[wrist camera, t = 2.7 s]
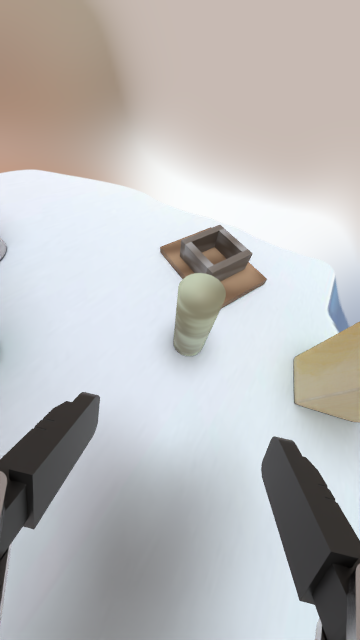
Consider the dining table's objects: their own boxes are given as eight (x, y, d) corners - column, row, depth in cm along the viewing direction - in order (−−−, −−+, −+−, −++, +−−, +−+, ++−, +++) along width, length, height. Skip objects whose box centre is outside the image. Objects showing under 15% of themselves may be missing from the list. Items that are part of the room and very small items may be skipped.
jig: (160, 252, 37) (159, 230, 33) (209, 232, 41) (214, 210, 37) (212, 313, 31) (219, 295, 27) (264, 283, 35) (277, 264, 31)
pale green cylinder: (167, 337, 28) (169, 284, 18) (192, 323, 30) (206, 266, 19) (184, 362, 27) (196, 319, 16) (209, 346, 28) (235, 297, 18)
